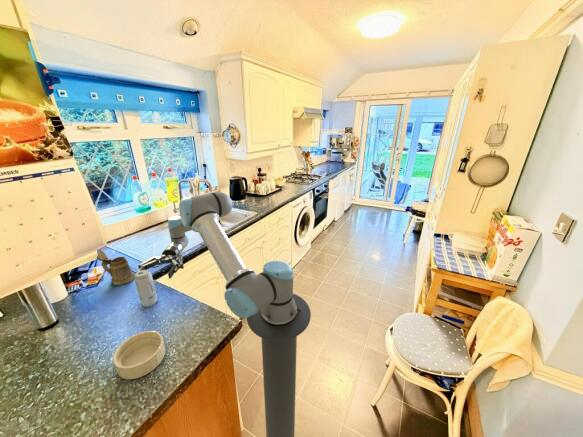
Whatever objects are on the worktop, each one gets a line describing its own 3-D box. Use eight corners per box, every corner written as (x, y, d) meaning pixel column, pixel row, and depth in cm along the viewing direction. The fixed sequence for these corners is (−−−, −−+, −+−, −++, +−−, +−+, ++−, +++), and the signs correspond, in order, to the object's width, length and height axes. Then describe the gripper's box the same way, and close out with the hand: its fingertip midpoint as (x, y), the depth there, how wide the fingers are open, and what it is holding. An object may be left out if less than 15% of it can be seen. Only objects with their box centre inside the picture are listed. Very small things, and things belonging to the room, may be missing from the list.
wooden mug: (106, 276, 116) (95, 244, 109) (137, 273, 119) (128, 241, 113) (97, 288, 108) (85, 254, 101) (130, 283, 111) (121, 250, 105)
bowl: (171, 340, 82) (168, 328, 80) (157, 377, 70) (153, 364, 68) (130, 345, 80) (126, 333, 78) (108, 384, 68) (103, 371, 66)
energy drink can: (155, 306, 97) (147, 276, 92) (139, 308, 96) (130, 278, 91) (159, 297, 103) (152, 268, 97) (144, 298, 102) (136, 269, 96)
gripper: (197, 257, 125) (183, 282, 105) (149, 259, 123) (125, 284, 103) (195, 245, 122) (181, 268, 102) (146, 246, 120) (121, 270, 101)
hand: (153, 276), depth 103 cm, fingers open, 13 cm apart
